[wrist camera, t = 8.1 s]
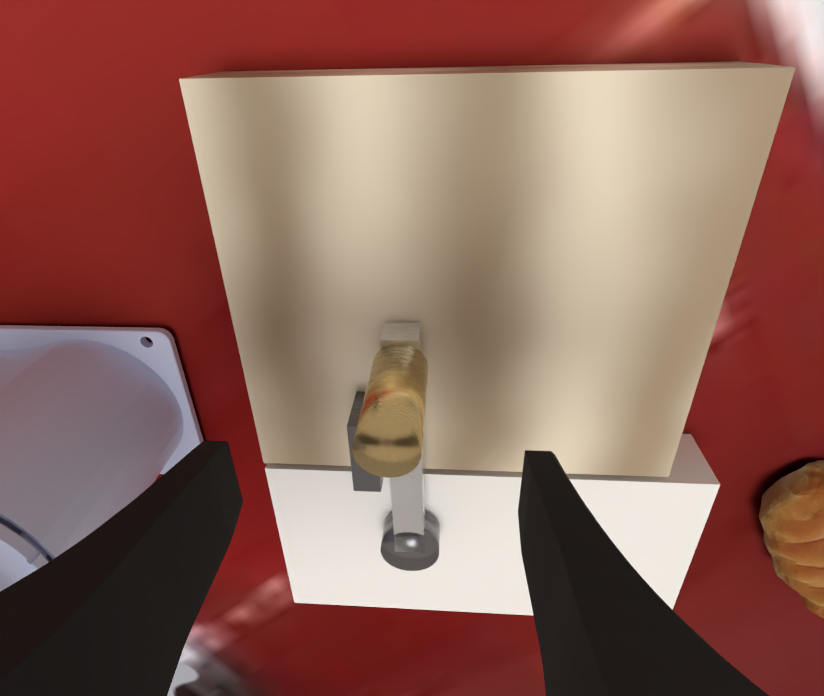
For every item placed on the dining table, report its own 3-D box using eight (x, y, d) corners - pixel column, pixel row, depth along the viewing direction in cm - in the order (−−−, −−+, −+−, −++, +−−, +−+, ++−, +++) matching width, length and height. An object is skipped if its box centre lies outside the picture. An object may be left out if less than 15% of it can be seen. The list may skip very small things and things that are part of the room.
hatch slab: (284, 417, 24) (263, 462, 22) (220, 71, 17) (179, 78, 14) (645, 427, 23) (668, 476, 20) (740, 61, 16) (795, 67, 13)
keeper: (361, 453, 21) (353, 490, 19) (356, 391, 19) (346, 426, 18) (387, 454, 21) (381, 491, 19) (383, 392, 19) (376, 427, 18)
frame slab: (308, 551, 29) (294, 602, 26) (285, 422, 24) (264, 468, 22) (647, 567, 28) (667, 622, 25) (690, 434, 23) (720, 484, 20)
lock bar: (439, 548, 23) (435, 671, 19) (385, 546, 23) (368, 667, 19) (438, 322, 17) (432, 422, 13) (366, 322, 18) (336, 420, 13)
